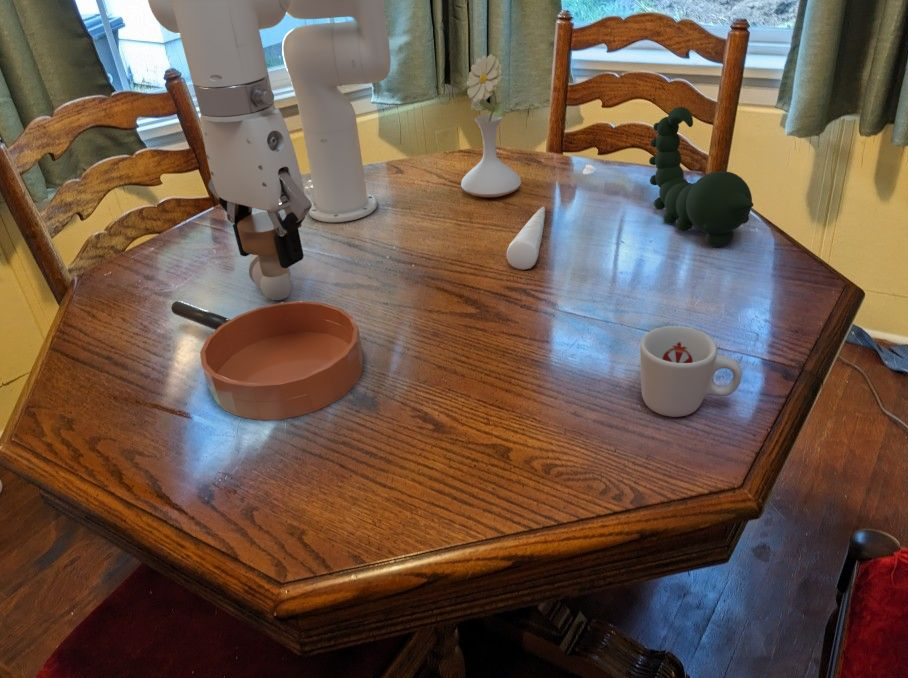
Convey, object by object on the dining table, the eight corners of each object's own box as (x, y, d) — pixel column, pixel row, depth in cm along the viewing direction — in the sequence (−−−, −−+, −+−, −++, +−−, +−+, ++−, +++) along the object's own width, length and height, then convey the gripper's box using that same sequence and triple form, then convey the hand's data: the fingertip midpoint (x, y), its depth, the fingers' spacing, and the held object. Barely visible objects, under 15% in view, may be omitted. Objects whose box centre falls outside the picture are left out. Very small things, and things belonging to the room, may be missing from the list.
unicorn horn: (564, 210, 129) (565, 184, 126) (536, 272, 111) (536, 243, 108) (538, 209, 130) (538, 183, 128) (506, 270, 112) (505, 241, 109)
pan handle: (170, 315, 101) (166, 303, 100) (182, 309, 102) (178, 297, 101) (228, 338, 95) (224, 325, 94) (240, 331, 96) (236, 318, 95)
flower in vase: (455, 185, 143) (445, 48, 128) (511, 177, 144) (507, 40, 130) (472, 210, 132) (464, 63, 118) (532, 200, 134) (531, 55, 120)
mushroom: (239, 276, 86) (225, 226, 82) (276, 256, 90) (265, 207, 86) (274, 287, 83) (262, 236, 79) (311, 266, 87) (301, 216, 83)
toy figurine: (633, 218, 128) (718, 265, 108) (637, 106, 119) (731, 133, 98) (680, 209, 130) (773, 253, 110) (688, 98, 121) (791, 123, 100)
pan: (179, 389, 91) (167, 356, 89) (288, 320, 104) (281, 289, 101) (287, 439, 82) (278, 404, 79) (393, 356, 94) (389, 323, 92)
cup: (735, 391, 84) (747, 332, 79) (732, 434, 78) (745, 373, 73) (639, 378, 87) (645, 320, 82) (630, 419, 81) (635, 359, 76)
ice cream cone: (262, 263, 119) (287, 315, 110) (228, 250, 115) (251, 303, 106) (281, 232, 117) (308, 283, 108) (247, 218, 113) (272, 269, 103)
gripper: (321, 96, 73) (348, 259, 83) (209, 82, 82) (246, 232, 92) (266, 116, 68) (302, 287, 78) (152, 99, 77) (198, 255, 87)
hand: (271, 256), depth 85 cm, fingers closed on mushroom, 6 cm apart
